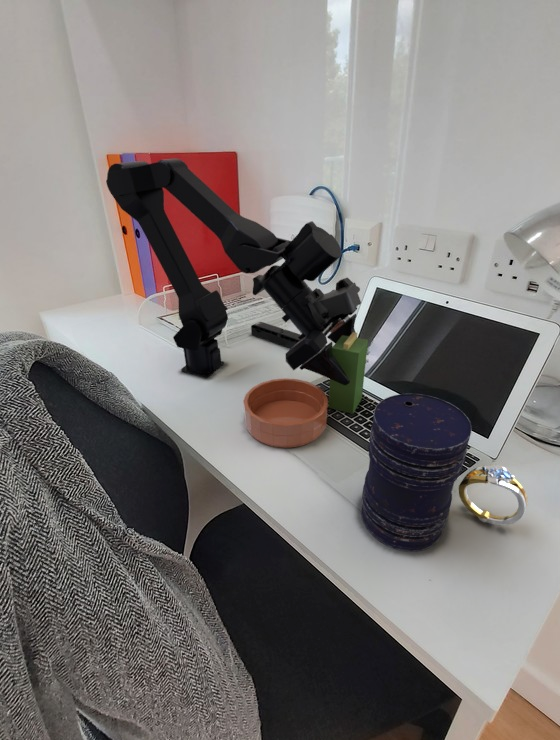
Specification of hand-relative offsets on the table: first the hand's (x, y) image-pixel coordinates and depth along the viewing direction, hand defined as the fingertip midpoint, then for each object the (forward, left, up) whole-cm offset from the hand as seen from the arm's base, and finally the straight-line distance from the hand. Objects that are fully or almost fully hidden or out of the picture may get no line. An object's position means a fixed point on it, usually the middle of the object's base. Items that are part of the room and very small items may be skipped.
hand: (356, 371), depth 68 cm
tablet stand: (-21, +17, -7) cm, 28 cm away
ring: (+22, -17, -7) cm, 28 cm away
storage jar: (+13, -21, -7) cm, 25 cm away
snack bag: (-1, 0, -7) cm, 7 cm away
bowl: (-8, -10, -7) cm, 14 cm away
